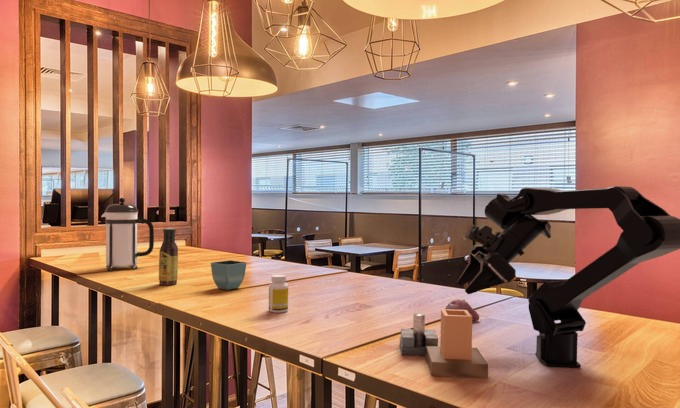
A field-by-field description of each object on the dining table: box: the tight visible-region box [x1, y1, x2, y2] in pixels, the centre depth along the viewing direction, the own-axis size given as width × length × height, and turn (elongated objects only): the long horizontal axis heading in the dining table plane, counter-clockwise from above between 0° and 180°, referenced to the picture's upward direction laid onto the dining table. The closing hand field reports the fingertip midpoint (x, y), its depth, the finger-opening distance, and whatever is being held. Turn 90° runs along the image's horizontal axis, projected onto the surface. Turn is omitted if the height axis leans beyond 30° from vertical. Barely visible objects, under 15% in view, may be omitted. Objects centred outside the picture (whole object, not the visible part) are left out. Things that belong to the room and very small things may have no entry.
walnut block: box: [425, 345, 489, 379], centre depth 89 cm, size 10×9×2 cm
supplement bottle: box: [268, 274, 289, 314], centre depth 130 cm, size 5×5×10 cm
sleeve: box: [439, 308, 473, 360], centre depth 89 cm, size 5×5×8 cm
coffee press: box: [101, 197, 155, 272], centre depth 198 cm, size 17×16×30 cm
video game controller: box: [444, 298, 480, 322], centre depth 120 cm, size 10×5×7 cm, turn 141°
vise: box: [399, 312, 439, 357], centre depth 99 cm, size 8×7×8 cm
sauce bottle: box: [158, 227, 179, 286], centre depth 165 cm, size 7×6×20 cm
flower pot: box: [210, 259, 247, 291], centre depth 160 cm, size 9×9×9 cm
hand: (462, 288), depth 102 cm, fingers open, 9 cm apart
